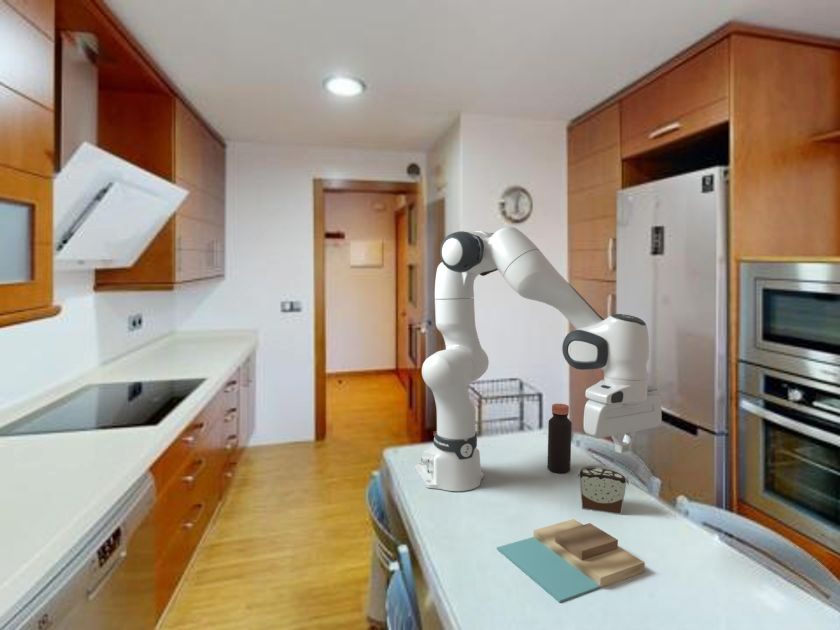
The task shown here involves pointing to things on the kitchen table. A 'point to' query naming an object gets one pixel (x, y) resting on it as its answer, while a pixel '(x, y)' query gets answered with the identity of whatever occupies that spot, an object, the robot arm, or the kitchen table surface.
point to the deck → (597, 567)
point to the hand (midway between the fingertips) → (622, 451)
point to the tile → (586, 541)
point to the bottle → (559, 439)
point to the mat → (548, 569)
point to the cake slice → (602, 488)
